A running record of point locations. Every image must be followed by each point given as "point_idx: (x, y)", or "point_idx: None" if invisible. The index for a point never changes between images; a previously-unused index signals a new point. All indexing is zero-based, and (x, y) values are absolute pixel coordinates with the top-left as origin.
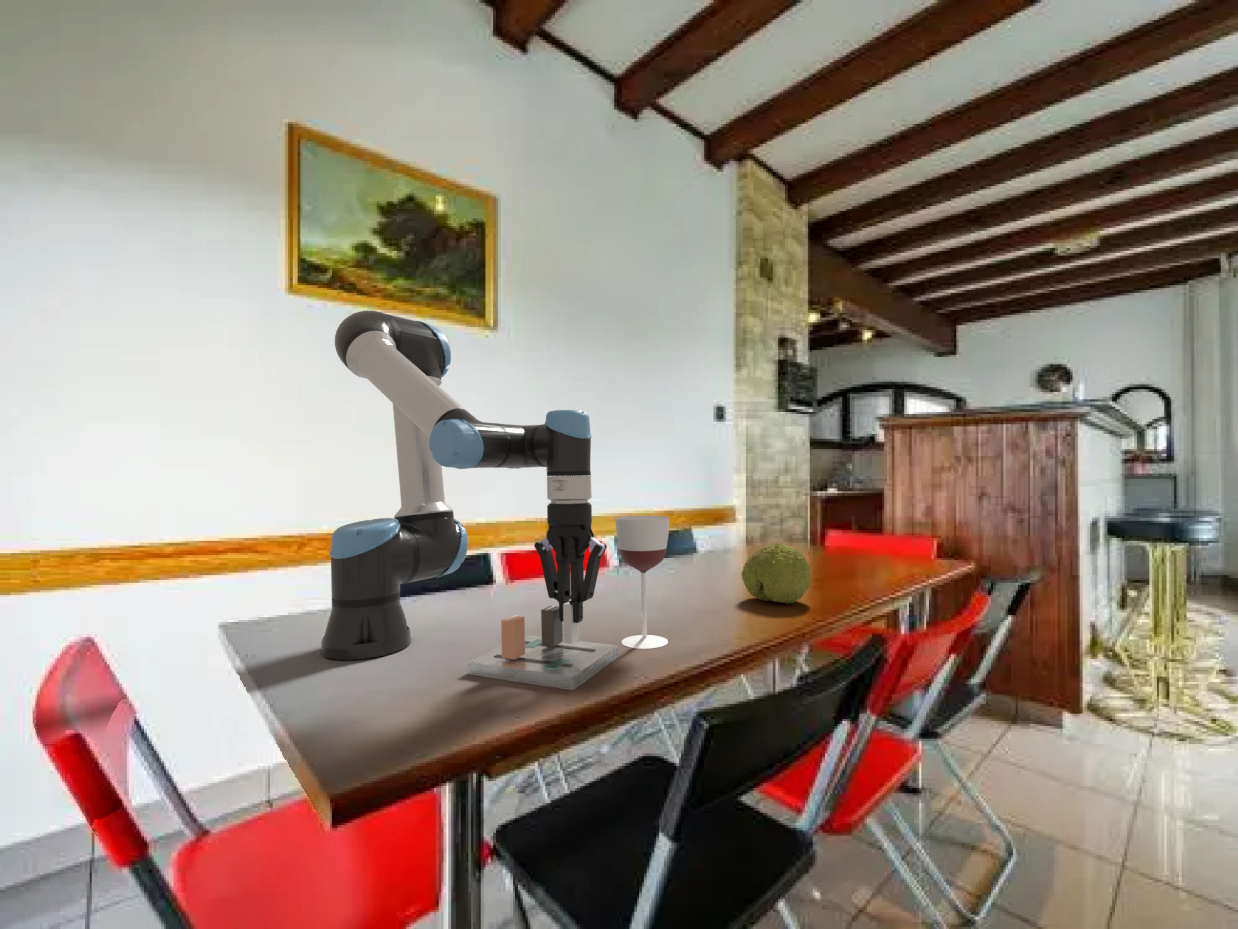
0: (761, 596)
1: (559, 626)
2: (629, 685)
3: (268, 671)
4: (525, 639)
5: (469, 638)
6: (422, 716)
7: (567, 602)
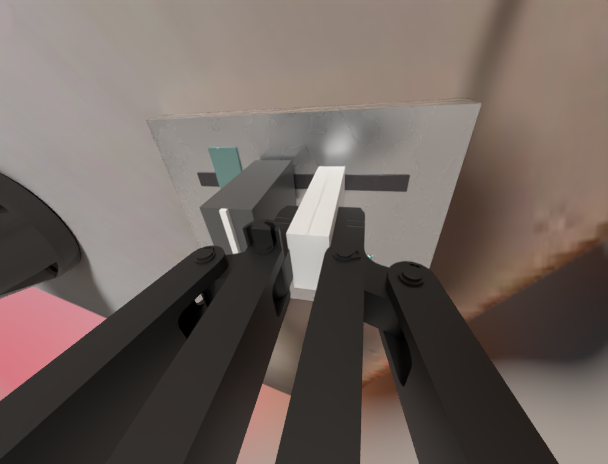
0: None
1: (279, 198)
2: (522, 265)
3: (71, 296)
4: (185, 156)
5: (35, 114)
6: (282, 351)
7: (293, 264)
